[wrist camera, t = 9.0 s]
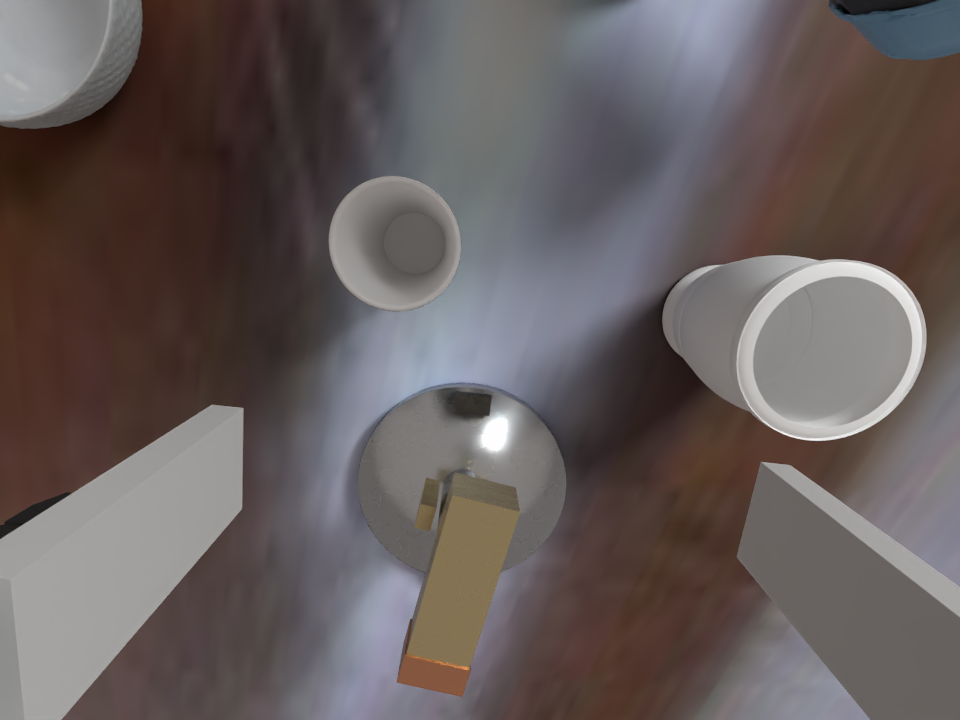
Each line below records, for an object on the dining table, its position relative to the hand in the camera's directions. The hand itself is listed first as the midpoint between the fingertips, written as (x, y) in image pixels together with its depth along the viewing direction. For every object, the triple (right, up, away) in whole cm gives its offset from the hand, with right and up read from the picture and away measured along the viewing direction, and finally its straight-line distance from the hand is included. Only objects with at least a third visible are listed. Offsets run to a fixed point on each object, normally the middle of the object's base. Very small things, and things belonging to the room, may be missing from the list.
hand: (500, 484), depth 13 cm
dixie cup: (-6, +13, +29) cm, 32 cm away
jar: (+19, +7, +30) cm, 36 cm away
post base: (-2, -8, +33) cm, 34 cm away
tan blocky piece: (-2, -8, +30) cm, 31 cm away
